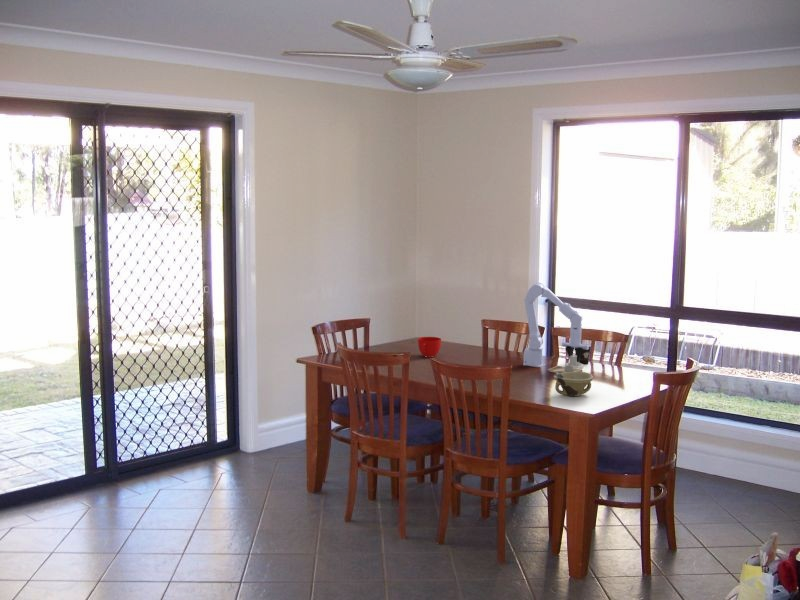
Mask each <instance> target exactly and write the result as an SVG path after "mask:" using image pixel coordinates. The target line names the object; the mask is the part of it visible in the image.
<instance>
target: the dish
mask: <svg viewBox="0 0 800 600" xmlns="http://www.w3.org/2000/svg"><path fill="white" fill-rule="evenodd" d="M566 365H569V362H566V363H565V366H566ZM584 366H585V364H581V363H579V365H577V366H574V368H576V369H582V370H583V369H584V368H585V367H584Z"/></svg>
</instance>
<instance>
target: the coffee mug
mask: <svg viewBox="0 0 800 600" xmlns="http://www.w3.org/2000/svg"><path fill="white" fill-rule="evenodd" d="M583 344H584V345H588V346H589V349H588V350H586V349H585V350H584V352H583V354H582V356H581V359H580V362H579V363H581V364H583V365H584V366H585V365H589V362H590V355H591V348H592V345H591V344H588V343H587V344H586V343H583ZM576 349H578V348H574V352H575V353H574V355H577V351H576Z"/></svg>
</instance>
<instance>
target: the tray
mask: <svg viewBox="0 0 800 600" xmlns="http://www.w3.org/2000/svg"><path fill="white" fill-rule="evenodd" d="M547 372H551V373H556V374H559V373H565V366H563V365H557V366H553V367H551V368H548V369H547ZM574 372H583V369H576V368H574Z"/></svg>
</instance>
